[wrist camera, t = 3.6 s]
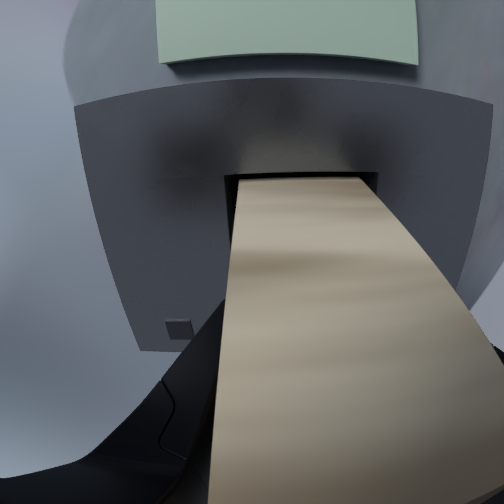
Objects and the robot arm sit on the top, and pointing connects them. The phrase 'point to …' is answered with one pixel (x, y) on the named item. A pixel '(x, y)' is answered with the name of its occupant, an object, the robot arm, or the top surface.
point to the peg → (347, 360)
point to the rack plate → (265, 161)
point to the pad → (287, 29)
